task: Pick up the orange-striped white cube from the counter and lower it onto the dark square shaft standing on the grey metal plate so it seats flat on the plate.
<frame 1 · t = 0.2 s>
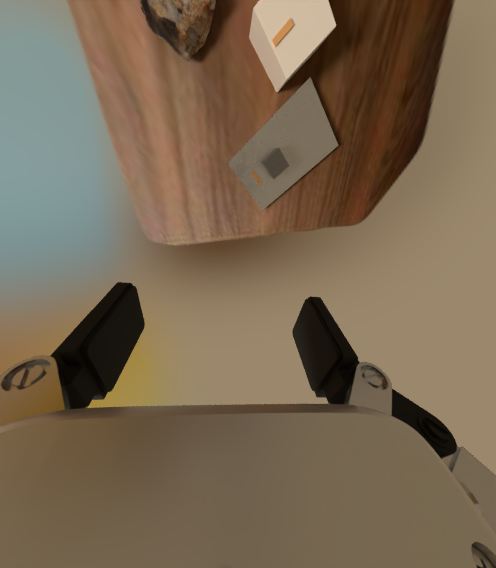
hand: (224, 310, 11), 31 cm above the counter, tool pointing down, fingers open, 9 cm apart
orange-striped white cube: (283, 44, 25), on the counter
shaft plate: (281, 154, 32), on the counter
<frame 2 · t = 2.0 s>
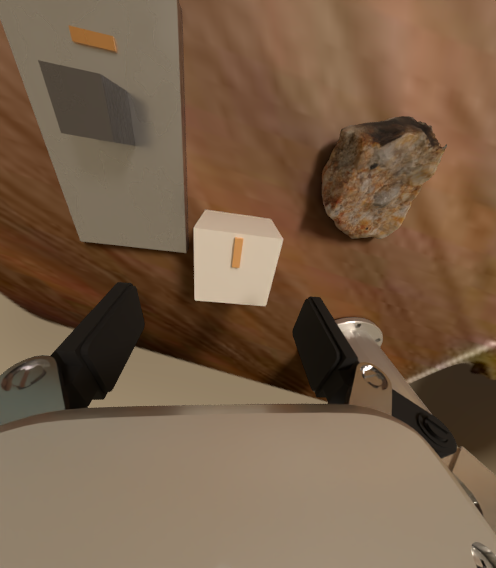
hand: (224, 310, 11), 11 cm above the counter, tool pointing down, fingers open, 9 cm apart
rock: (361, 185, 18), on the counter
orange-striped white cube: (235, 245, 20), on the counter
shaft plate: (124, 151, 15), on the counter
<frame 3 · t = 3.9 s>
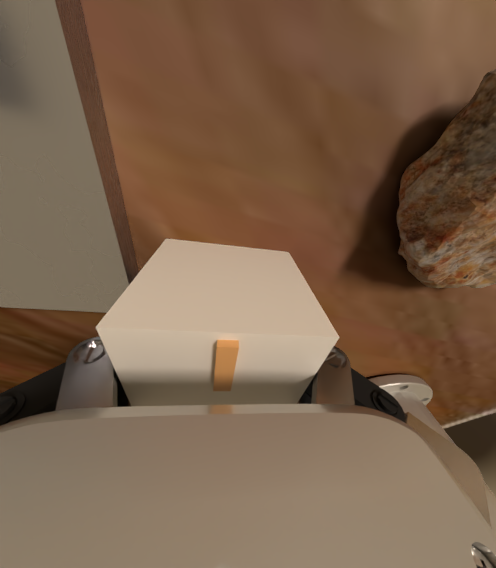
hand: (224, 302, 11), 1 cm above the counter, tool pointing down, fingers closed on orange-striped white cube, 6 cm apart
rock: (461, 198, 10), on the counter
orange-striped white cube: (225, 293, 12), on the counter, touching gripper
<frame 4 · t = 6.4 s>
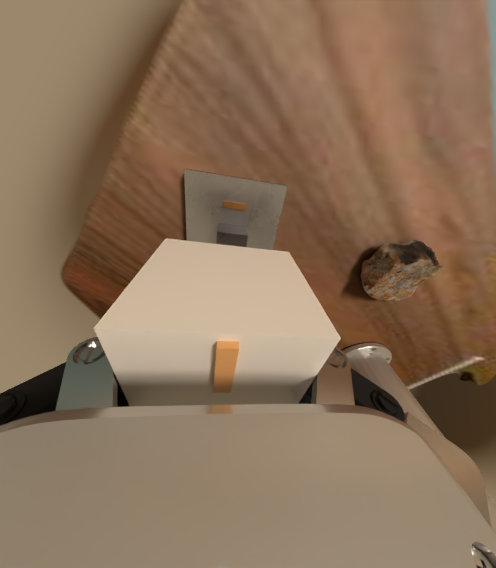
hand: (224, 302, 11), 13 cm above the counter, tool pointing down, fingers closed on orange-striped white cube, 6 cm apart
rock: (386, 267, 27), on the counter
orange-striped white cube: (225, 293, 12), point 12 cm above the counter, touching gripper
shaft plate: (230, 249, 23), on the counter
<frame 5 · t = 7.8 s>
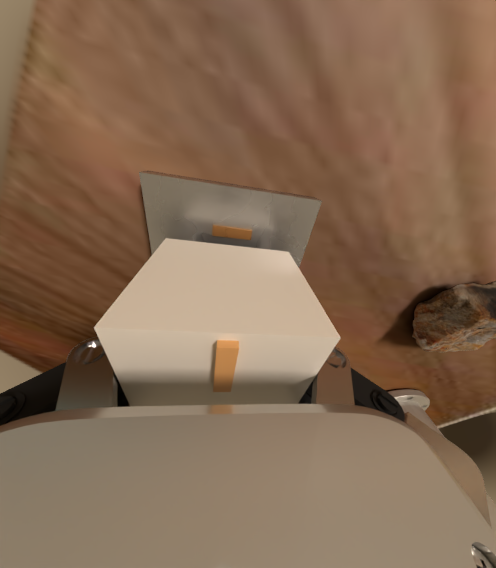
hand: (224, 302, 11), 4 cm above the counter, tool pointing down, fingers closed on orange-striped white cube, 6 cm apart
rock: (444, 309, 19), on the counter
orange-striped white cube: (225, 293, 12), point 3 cm above the counter, touching gripper
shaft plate: (225, 291, 15), on the counter
when the fingers open (3 cm above the counter, at t = 9.1 s): orange-striped white cube drops 1 cm, resting on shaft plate.
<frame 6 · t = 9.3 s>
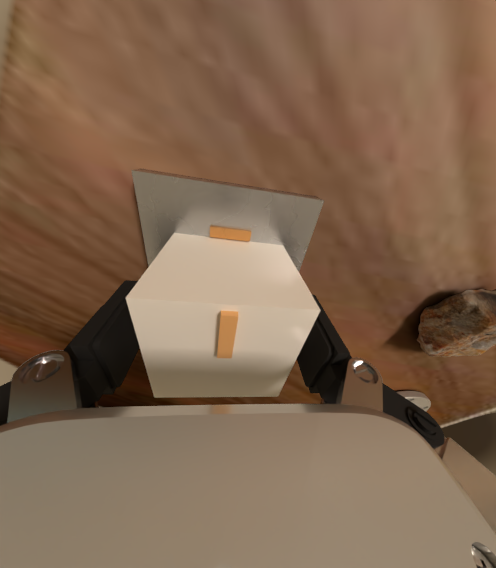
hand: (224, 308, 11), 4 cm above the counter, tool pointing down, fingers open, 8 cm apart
rock: (449, 314, 19), on the counter
orange-striped white cube: (226, 283, 13), point 1 cm above the counter, touching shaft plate
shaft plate: (224, 293, 15), on the counter
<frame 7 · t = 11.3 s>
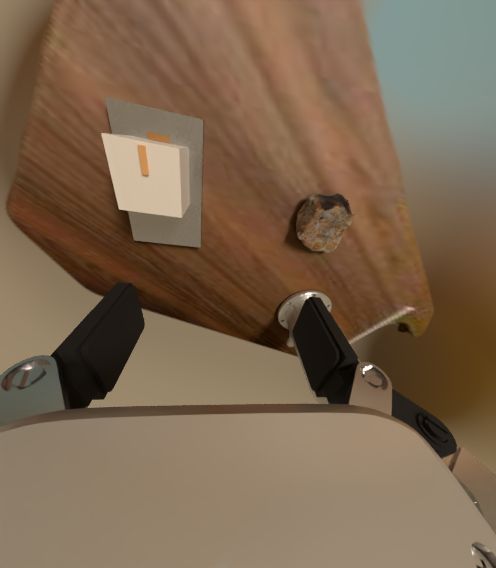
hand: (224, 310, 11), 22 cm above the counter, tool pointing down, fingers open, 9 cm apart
rock: (318, 221, 31), on the counter
orange-striped white cube: (162, 173, 24), point 1 cm above the counter, touching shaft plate
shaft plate: (165, 187, 26), on the counter
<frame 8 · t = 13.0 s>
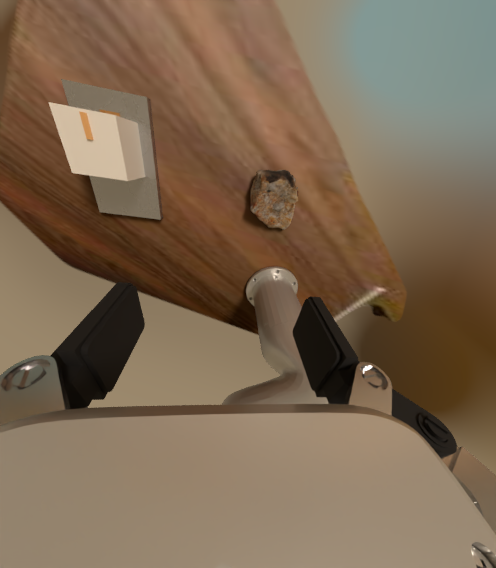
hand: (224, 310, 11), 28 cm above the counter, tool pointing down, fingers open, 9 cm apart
rock: (273, 198, 34), on the counter
orange-striped white cube: (117, 147, 27), point 1 cm above the counter, touching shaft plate
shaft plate: (123, 162, 29), on the counter
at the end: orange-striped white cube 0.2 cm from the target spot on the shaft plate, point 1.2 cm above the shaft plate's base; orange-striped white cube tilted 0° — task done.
